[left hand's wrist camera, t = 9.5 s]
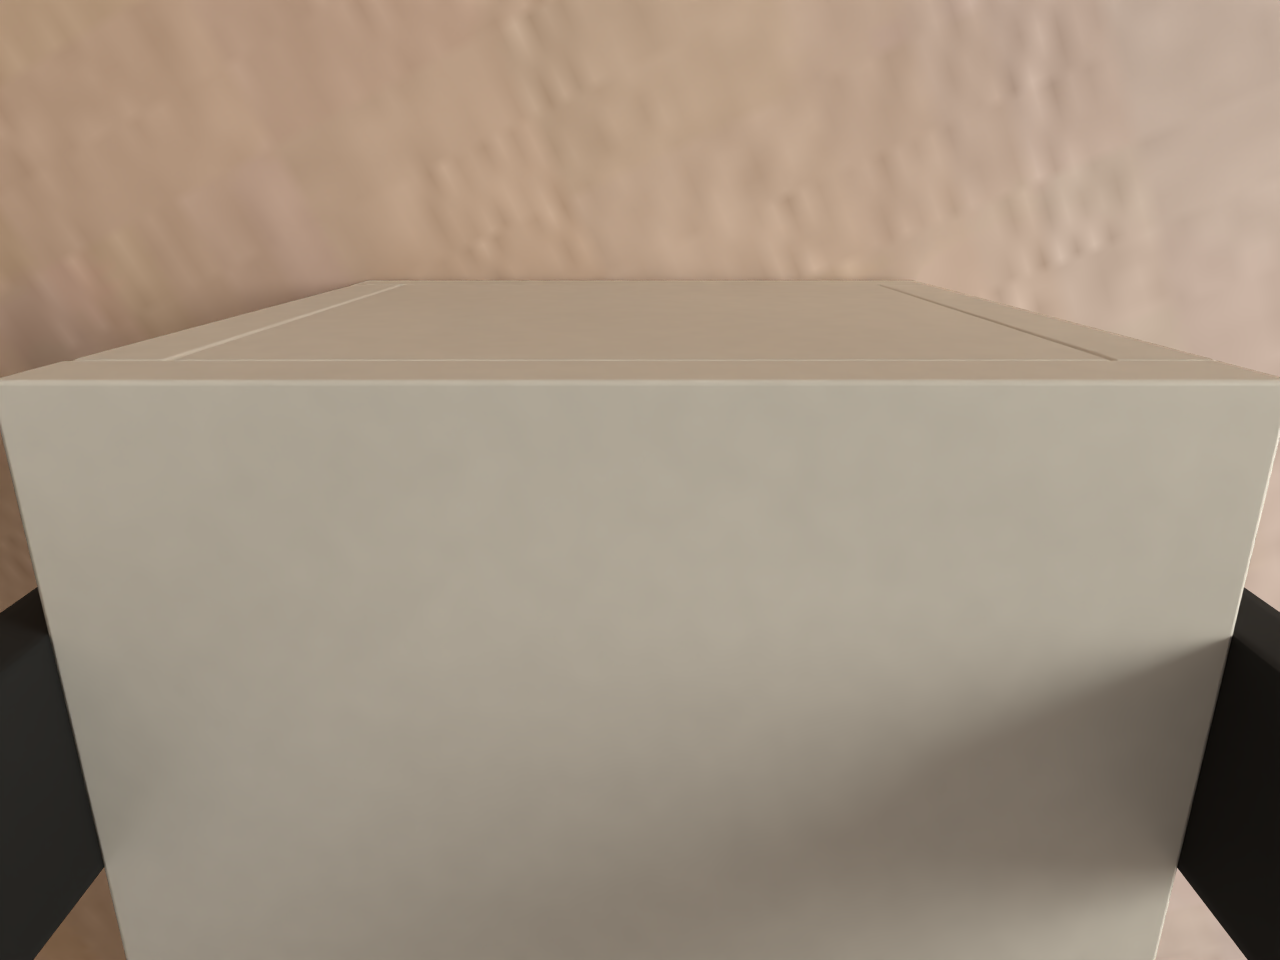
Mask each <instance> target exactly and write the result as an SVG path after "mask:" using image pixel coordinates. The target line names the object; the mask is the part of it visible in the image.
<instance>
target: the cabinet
mask: <svg viewBox="0 0 1280 960" xmlns="http://www.w3.org/2000/svg"><path fill="white" fill-rule="evenodd" d="M0 431H1V435H2V440H3V444H4V448H5V452H6V456H7V461H8V465H9V469H10V473H11V477H12V482H13V486H14V490H15V494H16V498H17V503H18V507H19V511H20V515H21V519H22V523H23V528H24V532H25V536H26V540H27V544H28V549H29V553H30V557H31V561H32V565H33V570H34V574H35V578H36V582H37V586H38V591H39V595H40V599H41V603H42V607H43V612H44V616H45V620H46V624H47V628H48V633H49V637H50V641H51V645H52V649H53V653H54V658H55V662H56V666H57V670H58V674H59V679H60V683H61V687H62V691H63V695H64V700H65V704H66V708H67V712H68V716H69V721H70V725H71V729H72V733H73V737H74V742H75V746H76V750H77V754H78V758H79V762H80V767H81V771H82V775H83V779H84V783H85V788H86V792H87V796H88V800H89V804H90V809H91V813H92V817H93V821H94V825H95V830H96V834H97V838H98V842H99V846H100V851H101V855H102V859H103V863H104V867H105V871H106V876H107V880H108V884H109V888H110V892H111V897H112V901H113V905H114V909H115V913H116V918H117V922H118V926H119V930H120V934H121V939H122V943H123V947H124V951H125V955H126V960H1155V958H1156V954H1157V950H1158V946H1159V942H1160V937H1161V933H1162V929H1163V925H1164V921H1165V916H1166V912H1167V908H1168V904H1169V900H1170V895H1171V891H1172V887H1173V883H1174V879H1175V874H1176V870H1177V866H1178V862H1179V858H1180V853H1181V849H1182V845H1183V841H1184V837H1185V832H1186V828H1187V824H1188V820H1189V816H1190V811H1191V807H1192V803H1193V799H1194V795H1195V791H1196V786H1197V782H1198V778H1199V774H1200V770H1201V765H1202V761H1203V757H1204V753H1205V749H1206V744H1207V740H1208V736H1209V732H1210V728H1211V723H1212V719H1213V715H1214V711H1215V707H1216V702H1217V698H1218V694H1219V690H1220V686H1221V681H1222V677H1223V673H1224V669H1225V665H1226V660H1227V656H1228V652H1229V648H1230V644H1231V639H1232V635H1233V631H1234V627H1235V623H1236V619H1237V614H1238V610H1239V606H1240V602H1241V598H1242V593H1243V589H1244V585H1245V581H1246V577H1247V572H1248V568H1249V564H1250V560H1251V556H1252V551H1253V547H1254V543H1255V539H1256V535H1257V530H1258V526H1259V522H1260V518H1261V514H1262V509H1263V505H1264V501H1265V497H1266V493H1267V488H1268V484H1269V480H1270V476H1271V472H1272V467H1273V463H1274V459H1275V455H1276V451H1277V447H1278V442H1279V438H1280V377H1277V376H1273V375H1270V374H1266V373H1262V372H1258V371H1255V370H1251V369H1247V368H1243V367H1239V366H1236V365H1232V364H1228V363H1224V362H1220V361H1215V360H1212V359H1210V358H1206V357H1202V356H1198V355H1195V354H1191V353H1187V352H1183V351H1179V350H1176V349H1172V348H1168V347H1164V346H1160V345H1157V344H1153V343H1149V342H1145V341H1142V340H1138V339H1134V338H1130V337H1126V336H1123V335H1119V334H1115V333H1111V332H1107V331H1104V330H1100V329H1096V328H1092V327H1088V326H1085V325H1081V324H1077V323H1073V322H1069V321H1066V320H1062V319H1058V318H1054V317H1050V316H1047V315H1043V314H1039V313H1035V312H1032V311H1028V310H1024V309H1020V308H1016V307H1013V306H1009V305H1005V304H1001V303H997V302H994V301H990V300H986V299H982V298H978V297H975V296H971V295H967V294H963V293H959V292H956V291H952V290H948V289H944V288H941V287H937V286H933V285H929V284H925V283H921V282H917V281H914V280H368V281H365V282H361V283H357V284H354V285H351V286H347V287H344V288H340V289H336V290H332V291H329V292H325V293H321V294H317V295H314V296H310V297H306V298H302V299H299V300H295V301H291V302H287V303H283V304H280V305H276V306H272V307H268V308H265V309H261V310H257V311H253V312H250V313H246V314H242V315H238V316H235V317H231V318H227V319H223V320H220V321H216V322H212V323H208V324H205V325H201V326H197V327H193V328H190V329H186V330H182V331H178V332H175V333H171V334H167V335H163V336H160V337H156V338H152V339H148V340H145V341H141V342H137V343H133V344H130V345H126V346H122V347H118V348H115V349H111V350H107V351H103V352H99V353H96V354H92V355H88V356H84V357H81V358H77V359H75V360H73V361H62V362H58V363H55V364H51V365H47V366H43V367H39V368H36V369H32V370H28V371H24V372H21V373H17V374H13V375H9V376H5V377H2V378H0Z"/></svg>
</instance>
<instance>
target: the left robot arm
mask: <svg viewBox="0 0 1280 960" xmlns="http://www.w3.org/2000/svg"><path fill="white" fill-rule="evenodd" d="M103 868H104V863H103V859H102V855H101V851H100V846H99V842H98V838H97V834H96V830H95V825H94V821H93V817H92V813H91V809H90V804H89V800H88V796H87V792H86V788H85V783H84V779H83V775H82V771H81V767H80V762H79V758H78V754H77V750H76V746H75V742H74V737H73V733H72V729H71V725H70V721H69V716H68V712H67V708H66V704H65V700H64V695H63V691H62V687H61V683H60V679H59V674H58V670H57V666H56V662H55V658H54V653H53V649H52V645H51V641H50V637H49V633H48V628H47V624H46V620H45V616H44V612H43V607H42V603H41V599H40V595H39V591H38V587H37V588H35V589H34V590H33V591H31V592H30V593H28V594H27V595H25V596H24V597H23V598H21V599H20V600H18V601H17V602H15V603H14V604H13V605H11V606H10V607H8V608H7V609H5V610H4V611H3V612H1V613H0V960H33V959H34V958H35V957H36V956H37V954H38V953H39V952H40V950H41V949H42V948H43V946H44V945H45V944H46V942H47V941H48V940H49V938H50V937H51V936H52V935H53V933H54V932H55V931H56V929H57V928H58V927H59V925H60V924H61V923H62V921H63V920H64V919H65V918H66V916H67V915H68V914H69V912H70V911H71V910H72V908H73V907H74V906H75V904H76V903H77V902H78V900H79V899H80V898H81V897H82V895H83V894H84V893H85V891H86V890H87V889H88V887H89V886H90V885H91V883H92V882H93V881H94V880H95V878H96V877H97V876H98V874H99V873H100V872H101V870H102V869H103ZM1177 868H1178V869H1179V870H1180V872H1181V873H1182V874H1183V876H1184V877H1185V878H1186V880H1187V881H1188V882H1189V883H1190V885H1191V886H1192V887H1193V889H1194V890H1195V891H1196V893H1197V894H1198V895H1199V897H1200V898H1201V899H1202V901H1203V902H1204V903H1205V904H1206V906H1207V907H1208V908H1209V910H1210V911H1211V912H1212V914H1213V915H1214V916H1215V918H1216V919H1217V920H1218V921H1219V923H1220V924H1221V925H1222V927H1223V928H1224V929H1225V931H1226V932H1227V933H1228V935H1229V936H1230V937H1231V938H1232V940H1233V941H1234V942H1235V944H1236V945H1237V946H1238V948H1239V949H1240V950H1241V952H1242V953H1243V954H1244V956H1245V957H1246V958H1247V959H1248V960H1280V612H1278V611H1277V610H1276V609H1274V608H1273V607H1271V606H1270V605H1268V604H1267V603H1266V602H1264V601H1263V600H1261V599H1260V598H1258V597H1257V596H1256V595H1254V594H1253V593H1251V592H1250V591H1248V590H1247V589H1246V588H1244V589H1243V593H1242V598H1241V602H1240V606H1239V610H1238V614H1237V619H1236V623H1235V627H1234V631H1233V635H1232V639H1231V644H1230V648H1229V652H1228V656H1227V660H1226V665H1225V669H1224V673H1223V677H1222V681H1221V686H1220V690H1219V694H1218V698H1217V702H1216V707H1215V711H1214V715H1213V719H1212V723H1211V728H1210V732H1209V736H1208V740H1207V744H1206V749H1205V753H1204V757H1203V761H1202V765H1201V770H1200V774H1199V778H1198V782H1197V786H1196V791H1195V795H1194V799H1193V803H1192V807H1191V811H1190V816H1189V820H1188V824H1187V828H1186V832H1185V837H1184V841H1183V845H1182V849H1181V853H1180V858H1179V862H1178V866H1177Z"/></svg>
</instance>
